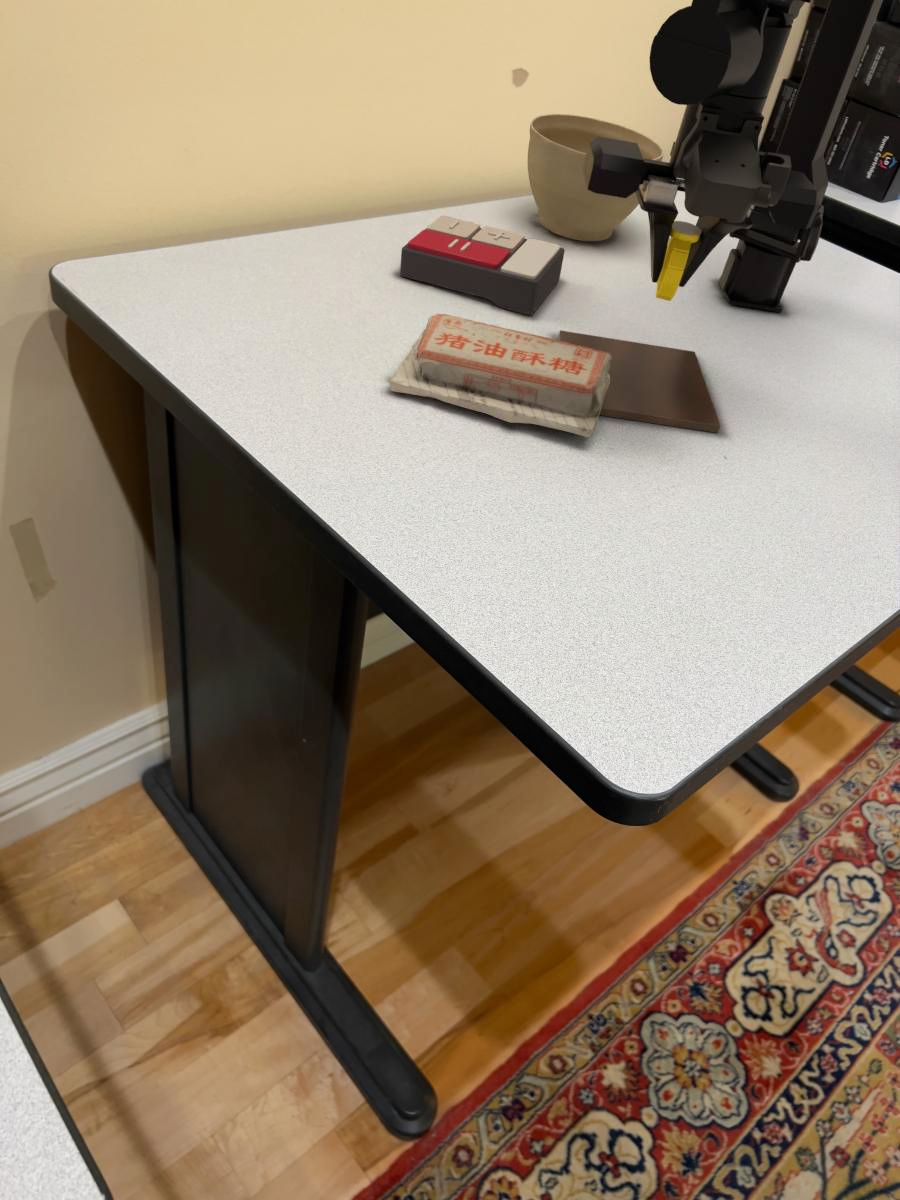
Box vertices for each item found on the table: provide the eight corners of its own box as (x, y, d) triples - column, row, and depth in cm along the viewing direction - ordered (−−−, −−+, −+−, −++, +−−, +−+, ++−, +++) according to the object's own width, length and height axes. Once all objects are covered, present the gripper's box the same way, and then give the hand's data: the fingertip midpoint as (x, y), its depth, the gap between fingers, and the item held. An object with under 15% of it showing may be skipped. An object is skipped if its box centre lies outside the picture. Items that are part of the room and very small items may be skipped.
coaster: (692, 358, 90) (694, 351, 90) (718, 433, 80) (721, 425, 80) (557, 337, 89) (559, 329, 89) (566, 410, 79) (568, 402, 78)
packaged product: (621, 338, 78) (603, 392, 71) (609, 387, 81) (590, 443, 74) (426, 294, 80) (390, 341, 73) (422, 343, 84) (387, 393, 77)
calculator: (439, 210, 99) (567, 241, 96) (435, 248, 102) (560, 279, 99) (400, 240, 92) (538, 275, 88) (398, 281, 94) (531, 316, 91)
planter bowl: (622, 267, 105) (650, 171, 98) (495, 229, 108) (513, 132, 100) (648, 226, 117) (675, 138, 109) (533, 193, 119) (552, 104, 112)
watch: (649, 277, 81) (670, 211, 77) (678, 284, 81) (701, 218, 77) (647, 303, 77) (669, 235, 73) (678, 311, 77) (702, 243, 73)
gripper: (623, 93, 61) (569, 306, 72) (880, 140, 63) (790, 342, 73) (608, 55, 69) (561, 252, 80) (835, 97, 71) (760, 284, 82)
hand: (666, 282), depth 79 cm, fingers closed on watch, 2 cm apart
